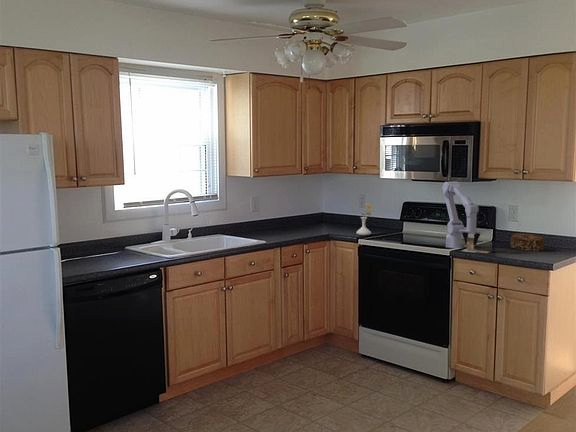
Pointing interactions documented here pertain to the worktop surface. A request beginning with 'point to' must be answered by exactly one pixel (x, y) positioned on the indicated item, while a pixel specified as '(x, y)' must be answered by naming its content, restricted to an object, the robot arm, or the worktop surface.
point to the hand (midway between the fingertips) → (470, 244)
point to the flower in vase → (363, 229)
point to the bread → (527, 242)
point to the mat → (471, 251)
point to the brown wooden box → (470, 244)
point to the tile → (484, 251)
